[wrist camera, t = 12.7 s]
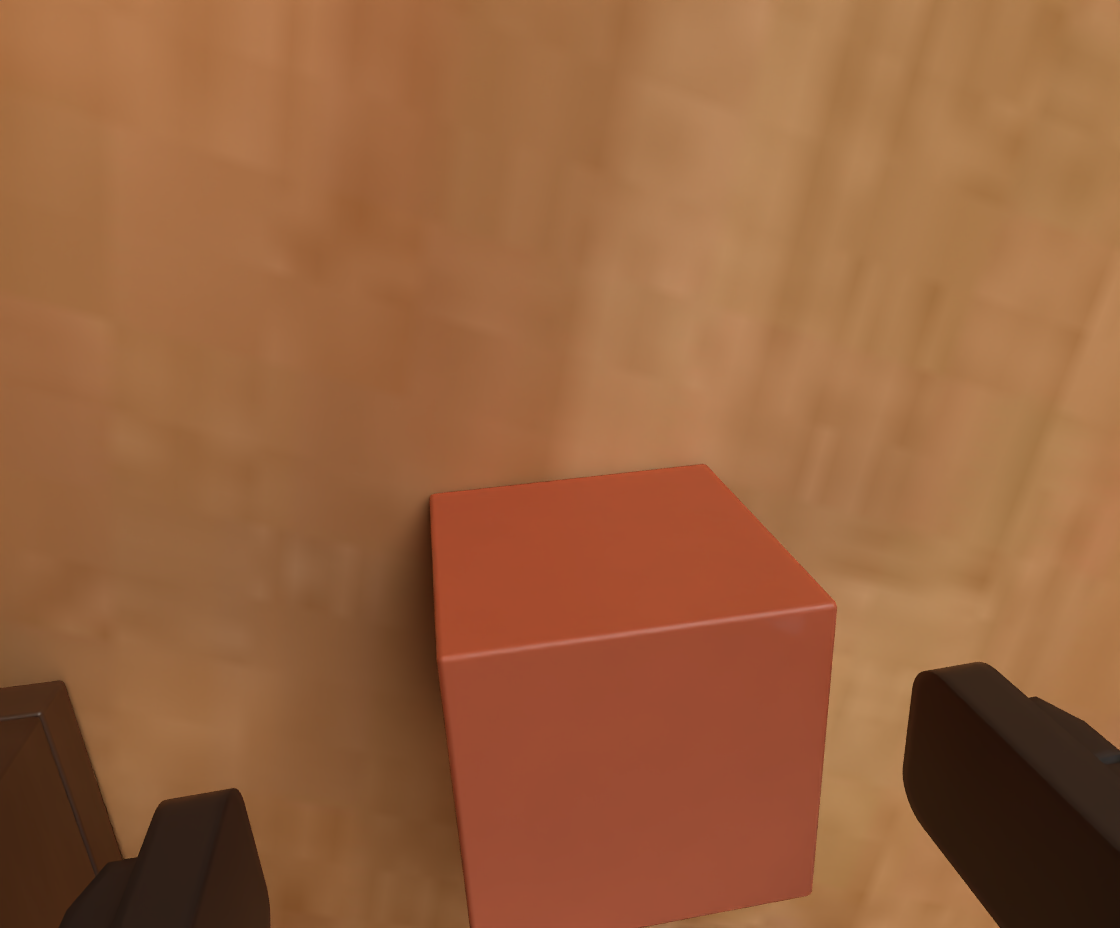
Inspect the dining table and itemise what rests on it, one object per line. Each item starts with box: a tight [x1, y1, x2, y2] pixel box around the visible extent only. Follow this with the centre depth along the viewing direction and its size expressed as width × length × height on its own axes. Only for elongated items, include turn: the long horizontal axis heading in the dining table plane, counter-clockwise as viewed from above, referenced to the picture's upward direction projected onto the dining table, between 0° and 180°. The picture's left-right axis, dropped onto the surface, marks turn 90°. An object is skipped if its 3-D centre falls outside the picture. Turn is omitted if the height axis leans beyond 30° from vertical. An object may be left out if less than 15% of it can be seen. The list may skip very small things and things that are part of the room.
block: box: [430, 464, 837, 928], centre depth 11 cm, size 4×4×4 cm
